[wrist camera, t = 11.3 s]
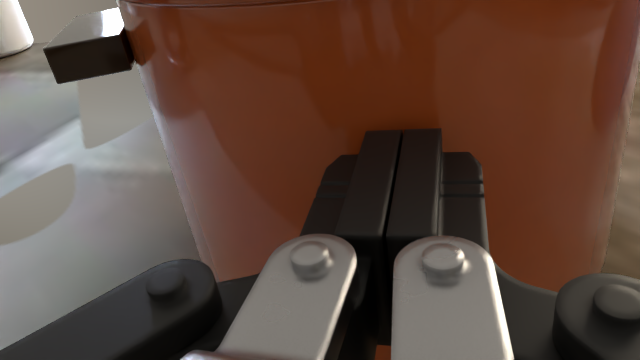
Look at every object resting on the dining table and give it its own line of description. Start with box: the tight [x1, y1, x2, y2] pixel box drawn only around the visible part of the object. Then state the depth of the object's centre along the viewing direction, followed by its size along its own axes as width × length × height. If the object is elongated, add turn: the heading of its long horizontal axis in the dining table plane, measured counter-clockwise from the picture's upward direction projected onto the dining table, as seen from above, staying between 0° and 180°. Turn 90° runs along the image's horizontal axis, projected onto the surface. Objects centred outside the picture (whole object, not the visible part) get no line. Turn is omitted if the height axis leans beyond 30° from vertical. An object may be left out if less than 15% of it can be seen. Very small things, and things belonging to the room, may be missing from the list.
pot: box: [43, 0, 640, 360], centre depth 18 cm, size 19×15×12 cm
